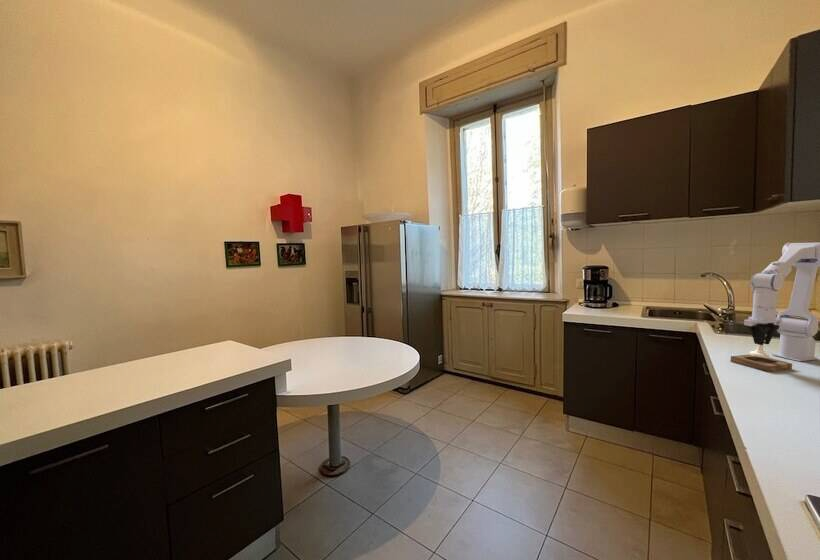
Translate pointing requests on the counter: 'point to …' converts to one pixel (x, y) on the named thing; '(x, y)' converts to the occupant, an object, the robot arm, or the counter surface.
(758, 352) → the chess piece
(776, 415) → the counter surface
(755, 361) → the socket board
